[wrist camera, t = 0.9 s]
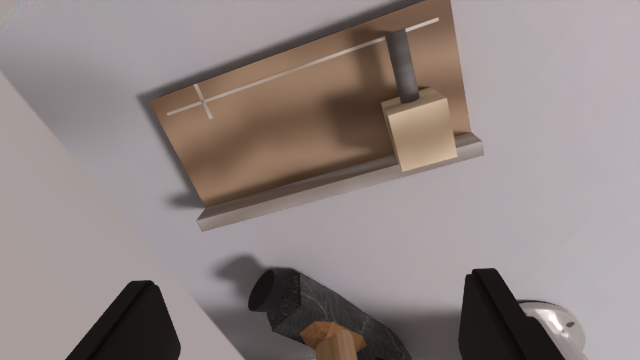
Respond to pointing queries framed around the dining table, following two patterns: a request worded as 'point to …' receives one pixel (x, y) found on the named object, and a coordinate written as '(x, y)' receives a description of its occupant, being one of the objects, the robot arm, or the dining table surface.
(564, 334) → the robot arm
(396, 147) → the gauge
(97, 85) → the dining table surface
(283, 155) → the board
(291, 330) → the hammer
